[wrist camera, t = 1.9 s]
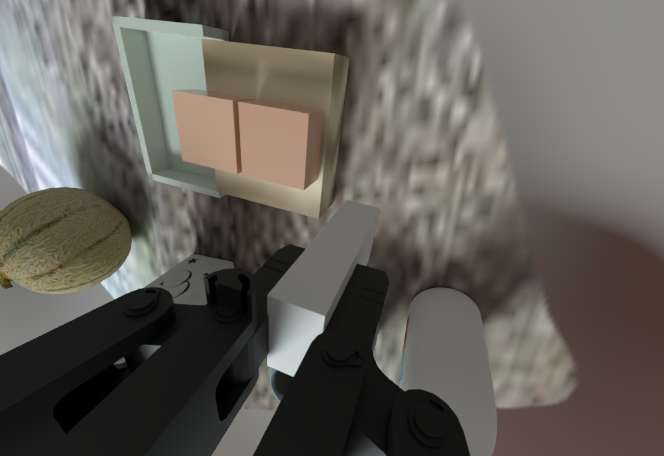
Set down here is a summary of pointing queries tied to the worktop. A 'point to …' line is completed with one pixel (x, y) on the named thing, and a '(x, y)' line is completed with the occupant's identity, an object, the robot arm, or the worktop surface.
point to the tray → (165, 92)
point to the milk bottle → (452, 362)
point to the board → (288, 88)
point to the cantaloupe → (61, 240)
